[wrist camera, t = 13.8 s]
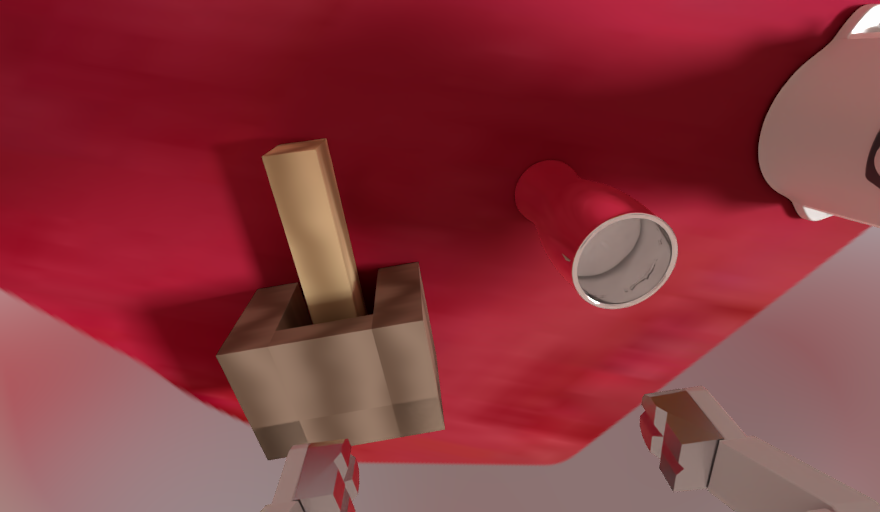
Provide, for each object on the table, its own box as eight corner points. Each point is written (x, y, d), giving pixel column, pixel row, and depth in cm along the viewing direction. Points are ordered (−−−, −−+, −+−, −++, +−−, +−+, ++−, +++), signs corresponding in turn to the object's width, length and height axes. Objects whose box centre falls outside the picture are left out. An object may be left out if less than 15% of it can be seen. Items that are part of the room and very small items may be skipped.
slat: (326, 137, 35) (315, 149, 30) (367, 312, 42) (363, 342, 38) (279, 144, 34) (261, 156, 30) (329, 318, 42) (321, 349, 38)
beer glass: (496, 182, 37) (549, 252, 24) (563, 138, 36) (659, 186, 23) (531, 239, 40) (596, 330, 27) (594, 200, 39) (696, 275, 25)
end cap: (418, 261, 40) (423, 320, 31) (436, 356, 45) (444, 429, 36) (257, 289, 40) (215, 355, 31) (294, 380, 45) (267, 460, 36)
